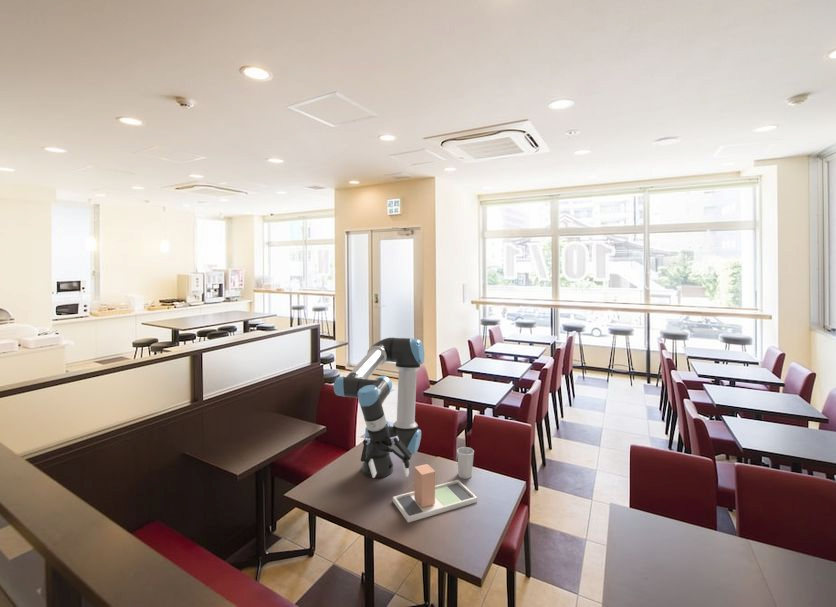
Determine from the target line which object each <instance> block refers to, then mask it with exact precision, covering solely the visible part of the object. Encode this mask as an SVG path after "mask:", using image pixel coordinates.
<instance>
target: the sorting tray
mask: <svg viewBox="0 0 836 607" xmlns="http://www.w3.org/2000/svg"><path fill="white" fill-rule="evenodd" d="M392 502H393V504H395V506H396V508H397V509H398V511H399V512H400V513H401V515H402V516H403V518H404V520H406V522H407V523H411V522H415V521H417V520H421V519H425V518H429V517H431V516H435V515H438V514H442V513H446V512H448V511H452V510H455V509H458V508H461V507H464V506H468V505H471V504H472V505H473V504H475V503H478V496H476V494H474V492H472V491H471V490H470V489H469V488H468V487H467V486H466V485H465V484H463V482H461V480H459V479H455V480H452V481H448V482H444V483H440V484H437V485H436V484H435V504H433V505H429V506H426V507H421V506H420V505H419V504H418V502H417V501H416V500H415V499H414V491H410V492H406V493H402V494H398V495H395V496H392Z"/></svg>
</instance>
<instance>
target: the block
mask: <svg viewBox="0 0 836 607" xmlns="http://www.w3.org/2000/svg"><path fill="white" fill-rule="evenodd" d="M413 480H414V482H413V483H414V487H413V488H414V499H415V500H416V501H417V502H418V504H419V505H420V506H421V507H426V506H429V505H433V504H435V486H436V470H434V469H433V468H432V467H431V466H430V465H429V464H428V463H426V464H421V465H417V466H414V479H413Z"/></svg>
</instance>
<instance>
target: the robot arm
mask: <svg viewBox="0 0 836 607" xmlns="http://www.w3.org/2000/svg"><path fill="white" fill-rule="evenodd" d="M386 362H391V363H395V368H396V369H397V370H398V379H397V380H398V381H397V383H398V384H397V402H396V403H397V404H396V421H394V422H393V424H392V426H390V422H389V421H387V419H386V415H385V412H384V407H383V404H384V401H385V400H386V399H387V397H388V396H389V394H390V393H391V391H392V388H393V382H392V381H391V379H390V378H389V377H388V376H386V375H379V376H377V377H376V378H374V379H373V378H371V379H370V377H371V376H372V375H373V374H374V373H375V371H376V370H377V369H378V367H380V365H383V364H384V363H386ZM424 362H425V349H424V344H423V342H422V341H421V340H420V339H418V338H417V339H416V338H411V337H410V338H409V337H408V338H407V337H406V338H405V337H402V338H401V337H400V338H399V337H385V338H383V339H381V340H379V341H377V342H375V343H374V344H373V345H371V346H370V347H369V349H368V350H367V353H366V355H365V356H364V357H363V358H362V359H361V360H360V361H359V362H358V363H357V365H356V366H354V368H353V369H352V370H351V371H350V373H348V375H346V376H338V377H336V378H335V380H334V382H333V392H334V394H335V395H336V396H340V397H344V398H345V397H346V398H358V403H359V405H360V408H361V413H362V415H363V419H364V422H365V426H366V427H365V432H364V439H363V441H362V443H363V447H362V451H361V457H360V462H362V465H361V473H362V475H364V476H366V477H368V478H372V479H375V478H376V479H379V478H385V477H387V476H389V475H390V474H393V471H394V463H393V460H392V457H391V454H390V453H393V454H394V455H395V456H397V457H398V458H399V459H400V460H401V464H402V468H403V472H404V476H405V478H408V477H409V474H410V470H409V468H410V462H409V461H410V460H411V458H412V456H413V455H416V453H417V452H418V450H419V447H420V443H421V439H422V430H421V429H420V428H418V427H419V425H418V423H417V421H415V420H416V417H415V416H416V401H417V400H416V399H417V398H416V396H417V394H416V393H417V373H418V370H419V369H420V368H421V365H423V364H424Z"/></svg>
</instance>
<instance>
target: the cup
mask: <svg viewBox="0 0 836 607" xmlns="http://www.w3.org/2000/svg"><path fill="white" fill-rule="evenodd" d="M456 454H457V455H456V456H457V470H458V474H457V475H458V477H460V478H461V479H470V478H471V477H472V476H473V475H472V474H473V465H474V457H475V456H474V455H475V450H474V449H473V448H472V447H467V446H462V447H458V448H457V449H456Z"/></svg>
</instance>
